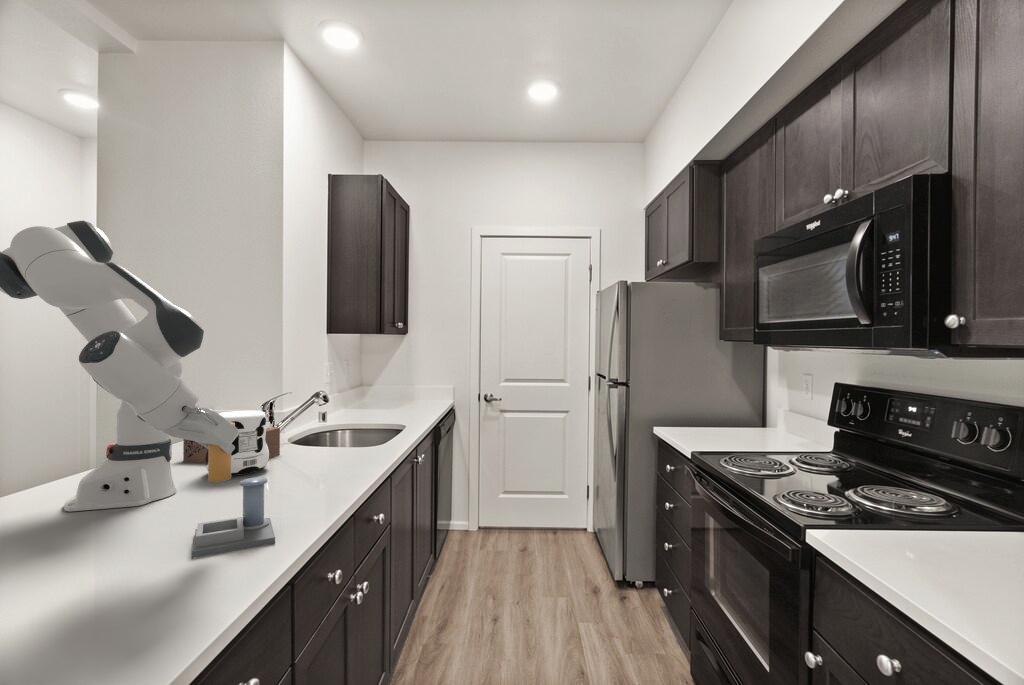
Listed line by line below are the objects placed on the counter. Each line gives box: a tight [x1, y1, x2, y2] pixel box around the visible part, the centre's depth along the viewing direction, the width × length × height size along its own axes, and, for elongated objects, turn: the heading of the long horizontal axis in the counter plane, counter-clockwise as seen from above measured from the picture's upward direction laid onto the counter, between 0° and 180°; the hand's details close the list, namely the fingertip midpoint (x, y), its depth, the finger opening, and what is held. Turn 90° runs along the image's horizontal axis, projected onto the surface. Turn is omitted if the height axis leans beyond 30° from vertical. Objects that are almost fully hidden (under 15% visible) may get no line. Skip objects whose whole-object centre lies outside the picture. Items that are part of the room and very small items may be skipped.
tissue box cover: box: [182, 426, 281, 463], centre depth 175 cm, size 26×14×10 cm, turn 83°
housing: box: [191, 476, 276, 559], centre depth 103 cm, size 14×13×11 cm
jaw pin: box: [207, 422, 235, 483], centre depth 101 cm, size 5×5×11 cm
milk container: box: [204, 410, 270, 477], centre depth 156 cm, size 17×17×18 cm
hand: (223, 449), depth 102 cm, fingers closed on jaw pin, 4 cm apart
